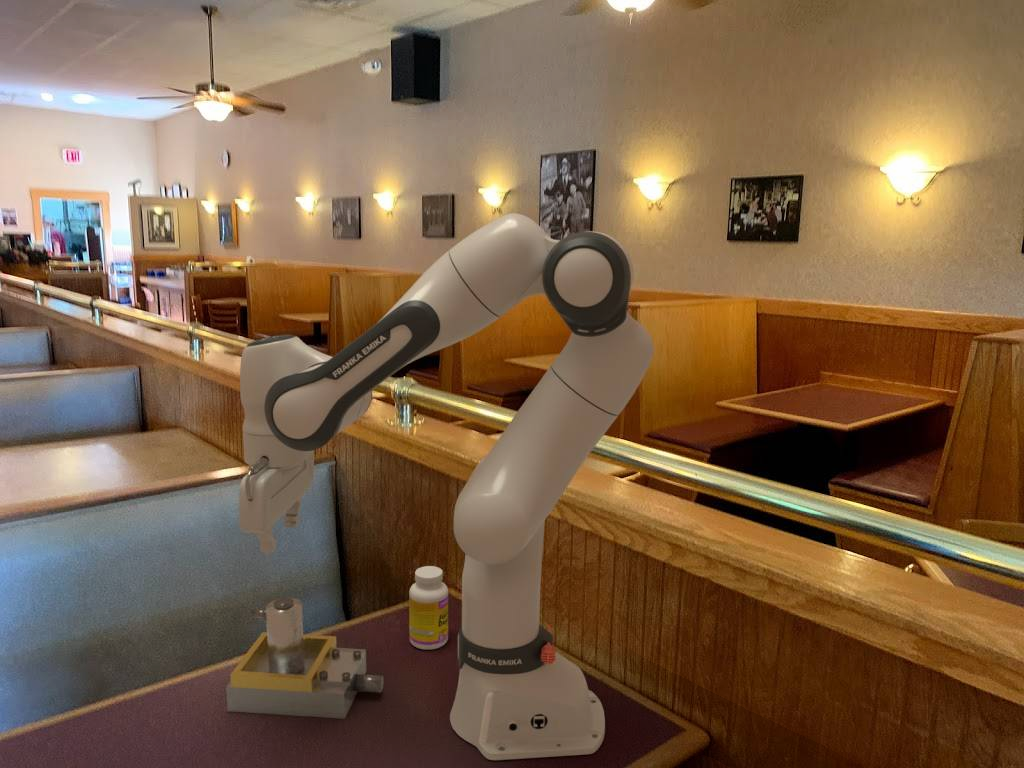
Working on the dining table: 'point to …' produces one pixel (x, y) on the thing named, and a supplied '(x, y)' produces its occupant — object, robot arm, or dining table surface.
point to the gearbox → (301, 681)
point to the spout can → (284, 635)
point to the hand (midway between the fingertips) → (280, 538)
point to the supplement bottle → (428, 609)
